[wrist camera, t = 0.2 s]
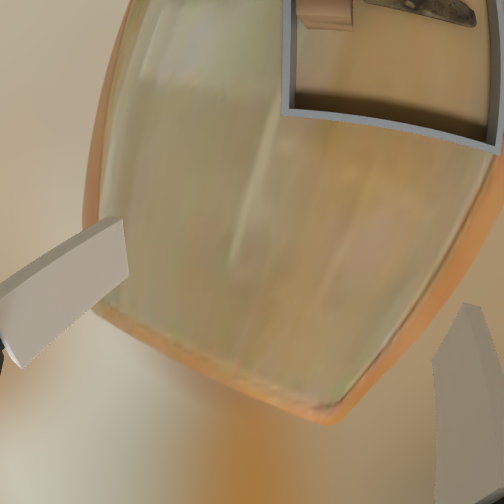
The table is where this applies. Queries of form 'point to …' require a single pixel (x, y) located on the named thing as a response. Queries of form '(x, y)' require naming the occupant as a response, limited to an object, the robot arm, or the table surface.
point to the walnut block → (326, 14)
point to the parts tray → (499, 119)
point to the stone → (433, 9)
